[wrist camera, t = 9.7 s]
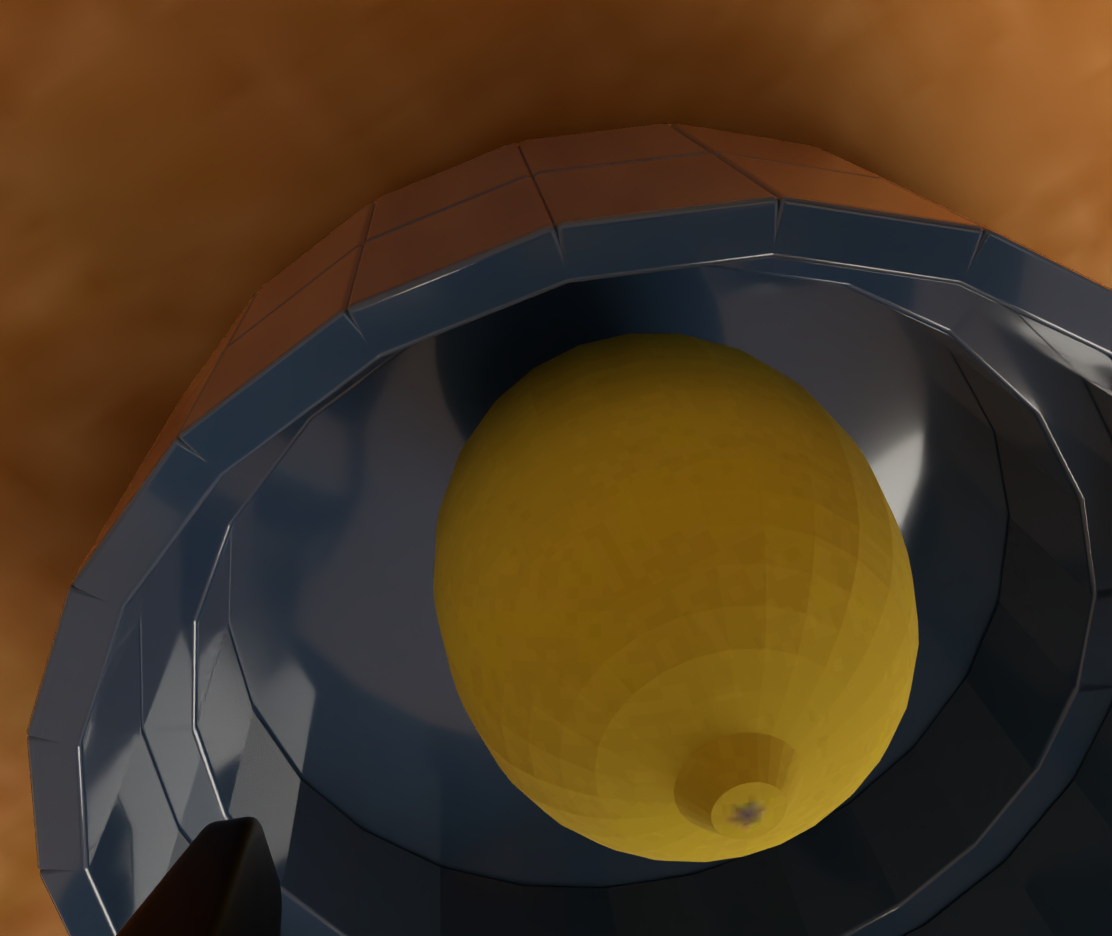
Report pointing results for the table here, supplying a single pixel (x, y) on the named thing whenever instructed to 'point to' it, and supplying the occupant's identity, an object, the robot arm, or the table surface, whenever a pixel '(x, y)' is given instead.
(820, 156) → the bowl
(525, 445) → the lemon
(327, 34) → the table surface
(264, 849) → the robot arm
